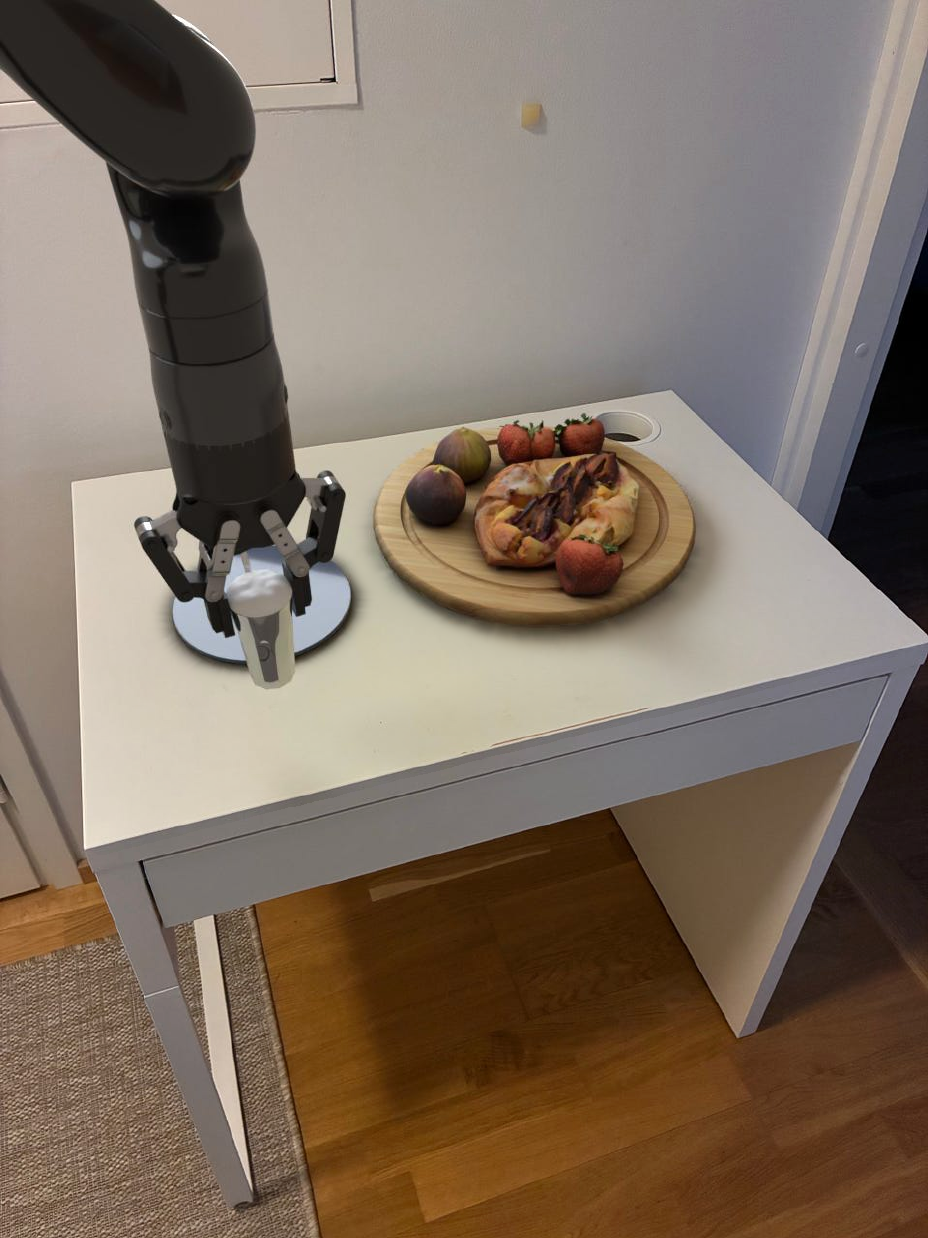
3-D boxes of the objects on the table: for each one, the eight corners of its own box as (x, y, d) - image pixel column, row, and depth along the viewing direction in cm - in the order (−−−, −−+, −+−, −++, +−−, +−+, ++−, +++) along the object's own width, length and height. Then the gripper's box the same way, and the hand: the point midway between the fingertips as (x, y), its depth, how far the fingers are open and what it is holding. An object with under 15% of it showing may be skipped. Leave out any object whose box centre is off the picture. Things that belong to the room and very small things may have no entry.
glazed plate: (198, 688, 80) (197, 683, 79) (155, 577, 90) (154, 572, 90) (377, 632, 85) (377, 627, 84) (317, 533, 95) (317, 528, 95)
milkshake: (288, 640, 75) (273, 537, 68) (312, 684, 71) (297, 581, 65) (232, 657, 73) (210, 554, 67) (252, 704, 70) (231, 600, 63)
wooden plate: (731, 627, 86) (750, 554, 80) (373, 641, 84) (367, 567, 78) (655, 437, 109) (665, 371, 104) (374, 445, 108) (370, 378, 102)
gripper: (316, 357, 62) (337, 563, 74) (90, 405, 58) (150, 616, 69) (358, 411, 57) (374, 622, 69) (114, 467, 53) (174, 684, 64)
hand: (261, 618), depth 69 cm, fingers closed on milkshake, 4 cm apart
